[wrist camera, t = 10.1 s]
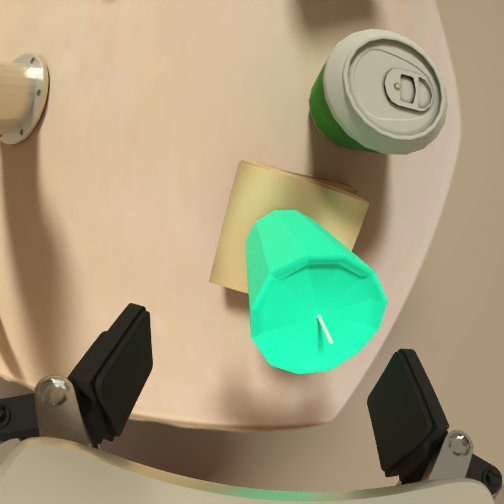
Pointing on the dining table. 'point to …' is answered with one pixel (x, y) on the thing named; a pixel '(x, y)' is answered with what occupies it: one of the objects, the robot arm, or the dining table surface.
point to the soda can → (379, 94)
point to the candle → (308, 294)
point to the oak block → (279, 198)
